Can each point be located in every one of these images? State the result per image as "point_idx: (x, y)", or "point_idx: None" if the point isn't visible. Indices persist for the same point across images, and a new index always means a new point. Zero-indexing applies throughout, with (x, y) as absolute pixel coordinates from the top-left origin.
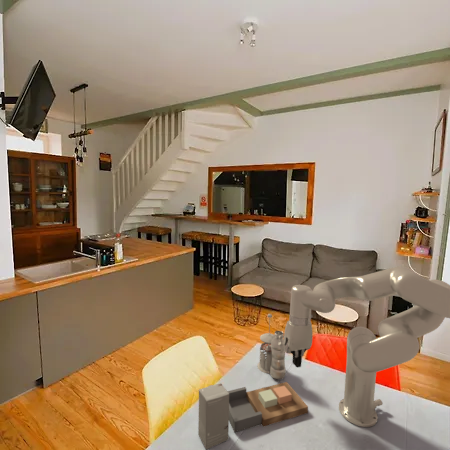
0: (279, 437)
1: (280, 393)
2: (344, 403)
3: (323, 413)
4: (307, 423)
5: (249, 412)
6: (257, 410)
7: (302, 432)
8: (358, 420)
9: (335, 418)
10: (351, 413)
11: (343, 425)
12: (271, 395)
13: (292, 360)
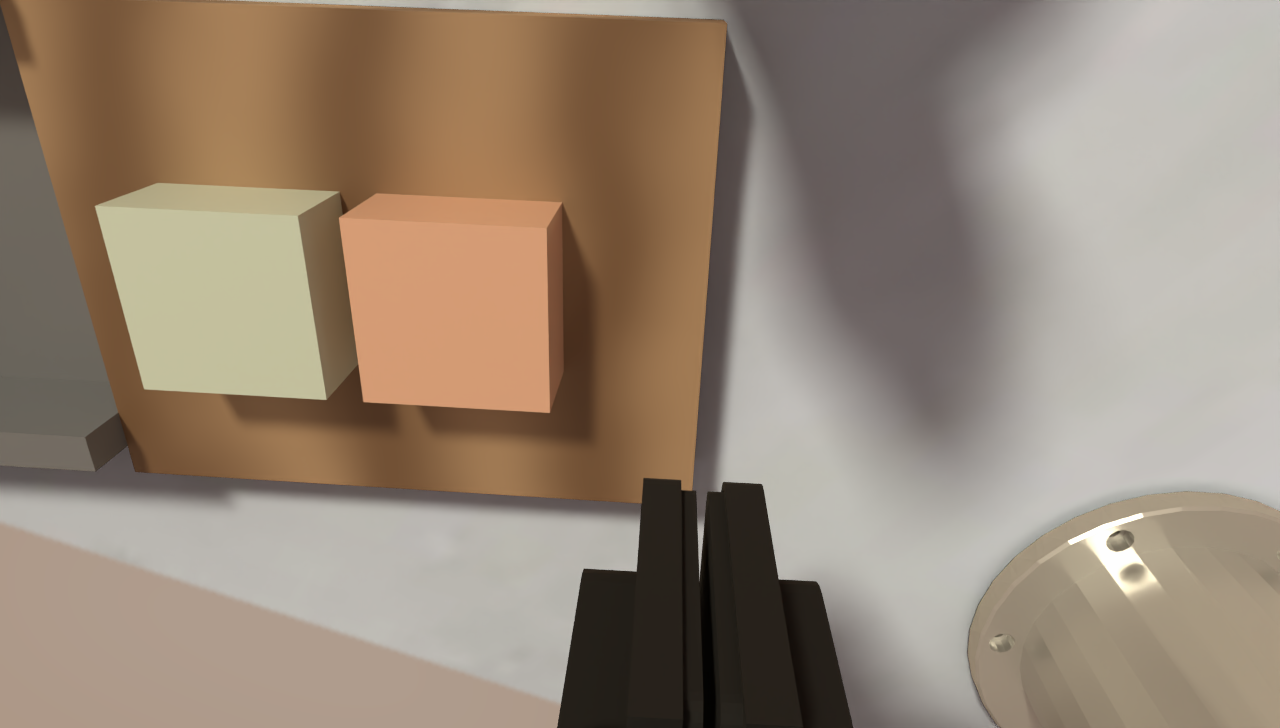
0: (291, 559)
1: (407, 341)
2: (1079, 649)
3: (837, 519)
4: (605, 545)
5: (60, 256)
6: (100, 347)
7: (505, 591)
8: (1035, 721)
9: (893, 595)
10: (1033, 704)
11: (890, 662)
12: (265, 328)
13: (578, 599)
